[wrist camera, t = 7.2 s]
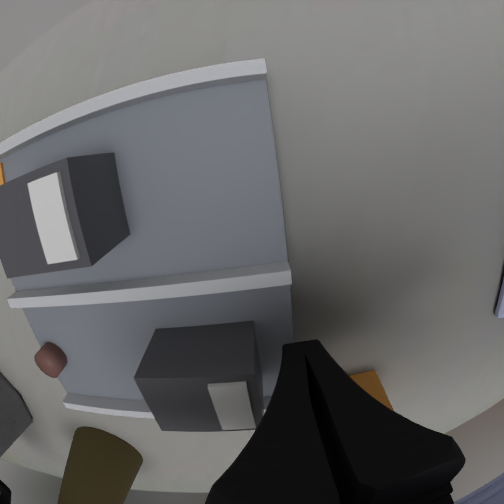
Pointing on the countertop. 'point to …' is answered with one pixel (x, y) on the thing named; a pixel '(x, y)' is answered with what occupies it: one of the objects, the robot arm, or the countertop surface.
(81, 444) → the cork
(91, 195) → the toggle
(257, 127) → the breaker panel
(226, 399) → the toggle
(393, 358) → the countertop surface
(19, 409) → the coffeepot
